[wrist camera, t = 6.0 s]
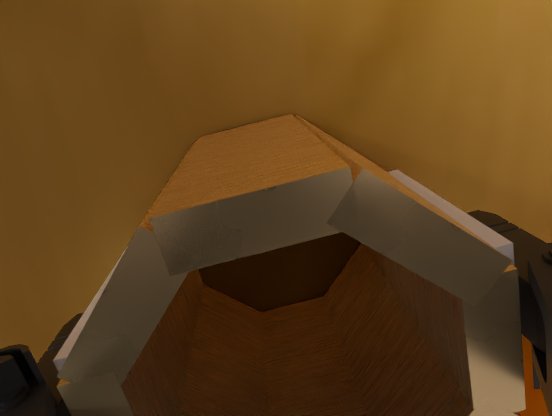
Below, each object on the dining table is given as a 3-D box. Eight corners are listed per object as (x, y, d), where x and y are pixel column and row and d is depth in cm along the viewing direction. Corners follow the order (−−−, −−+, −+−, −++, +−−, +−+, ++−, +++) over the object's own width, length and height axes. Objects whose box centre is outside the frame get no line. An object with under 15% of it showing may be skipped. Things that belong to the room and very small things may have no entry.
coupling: (199, 350, 16) (162, 591, 9) (128, 155, 14) (-10, 258, 6) (397, 300, 16) (530, 498, 9) (362, 94, 14) (509, 125, 6)
